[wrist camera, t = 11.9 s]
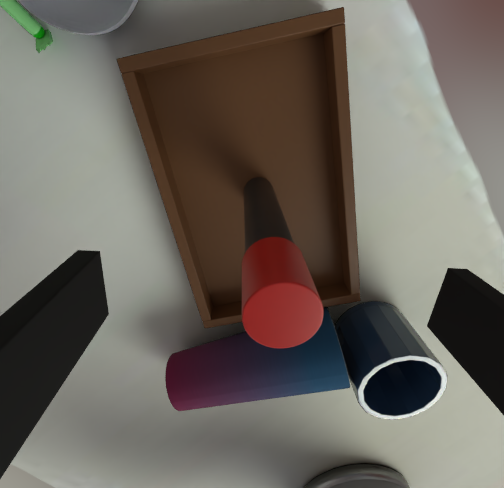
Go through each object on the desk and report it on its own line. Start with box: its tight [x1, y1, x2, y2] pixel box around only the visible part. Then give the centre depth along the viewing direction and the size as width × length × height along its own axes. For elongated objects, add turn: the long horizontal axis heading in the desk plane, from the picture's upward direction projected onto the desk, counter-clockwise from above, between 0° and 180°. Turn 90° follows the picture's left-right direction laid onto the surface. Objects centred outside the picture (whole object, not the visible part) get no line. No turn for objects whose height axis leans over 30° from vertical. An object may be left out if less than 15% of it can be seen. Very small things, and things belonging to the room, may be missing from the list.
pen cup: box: [335, 301, 447, 420], centre depth 27 cm, size 7×7×7 cm
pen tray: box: [117, 7, 361, 328], centre depth 23 cm, size 21×14×3 cm, turn 11°
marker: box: [242, 177, 324, 348], centre depth 17 cm, size 3×3×16 cm
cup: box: [166, 307, 350, 411], centre depth 28 cm, size 7×7×15 cm
